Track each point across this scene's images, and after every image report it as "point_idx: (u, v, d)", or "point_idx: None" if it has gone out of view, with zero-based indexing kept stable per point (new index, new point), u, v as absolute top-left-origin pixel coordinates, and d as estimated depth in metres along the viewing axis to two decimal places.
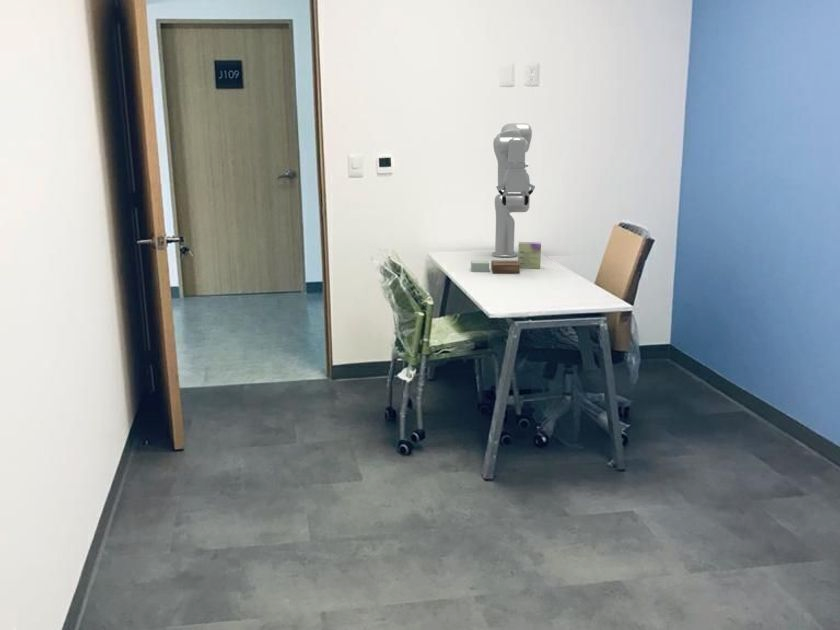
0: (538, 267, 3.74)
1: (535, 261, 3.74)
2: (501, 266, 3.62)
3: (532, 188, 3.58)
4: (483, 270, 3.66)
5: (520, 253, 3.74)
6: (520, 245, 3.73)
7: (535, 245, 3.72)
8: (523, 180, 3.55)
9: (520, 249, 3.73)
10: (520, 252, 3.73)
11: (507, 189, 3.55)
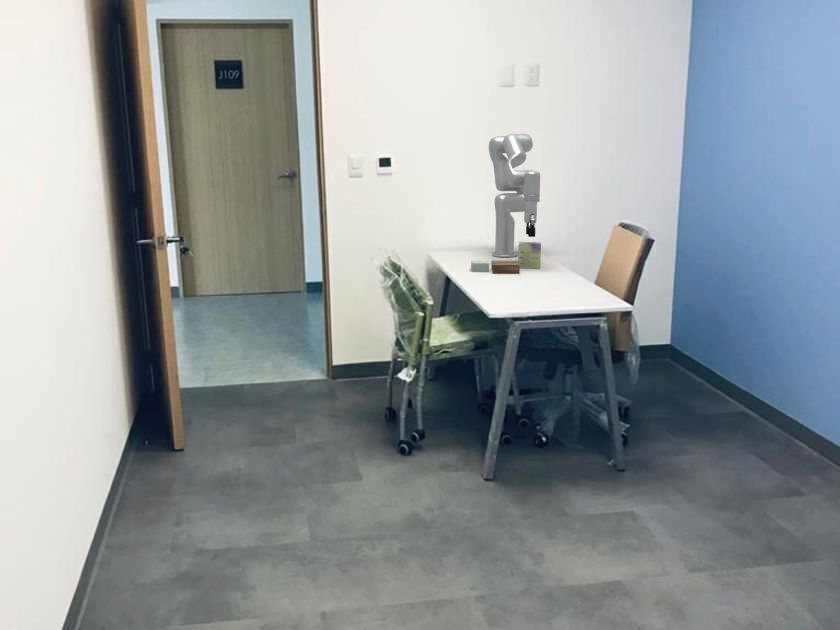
0: (538, 267, 3.74)
1: (535, 261, 3.74)
2: (501, 266, 3.62)
3: None
4: (483, 270, 3.66)
5: (520, 253, 3.74)
6: (520, 245, 3.73)
7: (535, 245, 3.72)
8: None
9: (520, 249, 3.73)
10: (520, 252, 3.73)
11: None
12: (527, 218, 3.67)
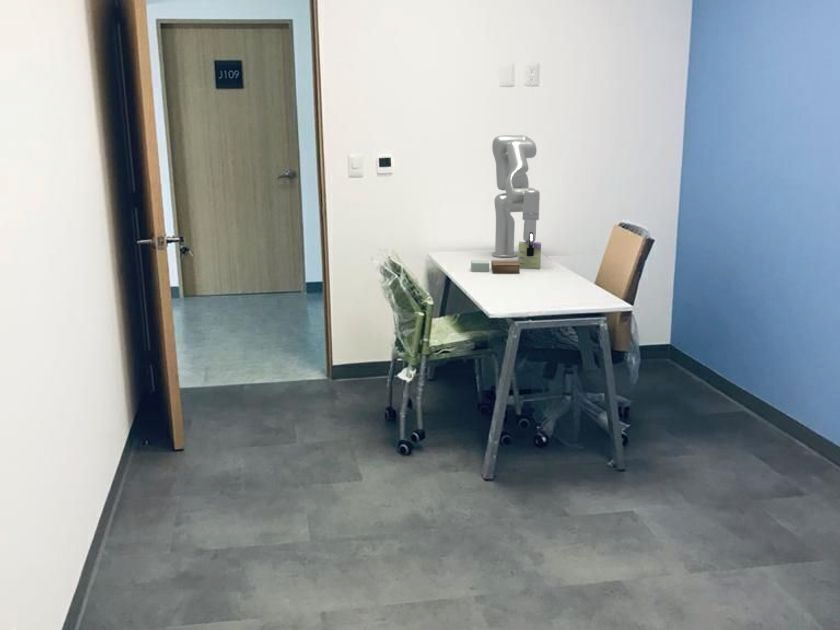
0: (538, 267, 3.74)
1: (535, 261, 3.74)
2: (501, 266, 3.62)
3: None
4: (483, 270, 3.66)
5: (520, 253, 3.73)
6: (520, 245, 3.73)
7: (535, 245, 3.72)
8: None
9: (520, 249, 3.73)
10: (520, 252, 3.73)
11: None
12: (526, 236, 3.69)
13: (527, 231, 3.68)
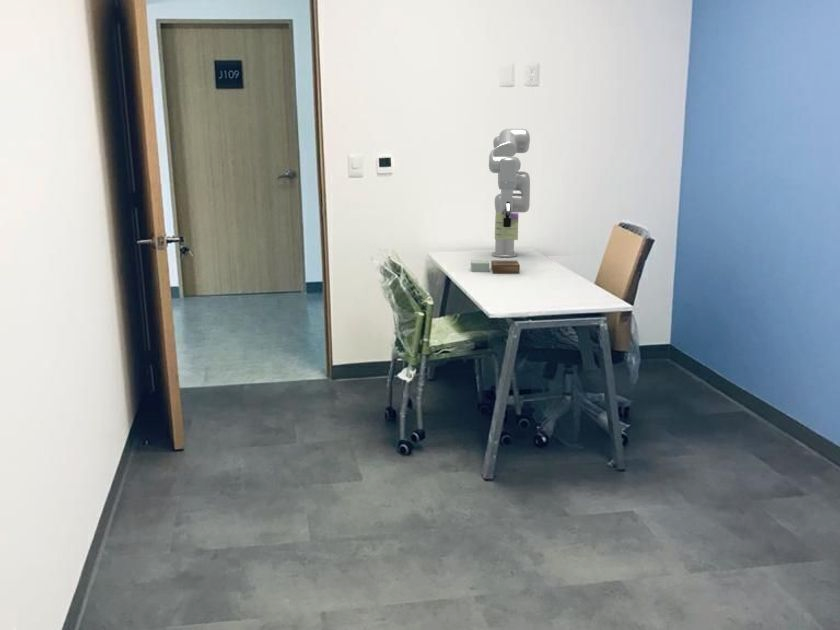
0: (515, 238, 3.61)
1: (513, 232, 3.61)
2: (501, 266, 3.62)
3: None
4: (483, 270, 3.66)
5: (497, 224, 3.61)
6: (497, 215, 3.60)
7: (512, 215, 3.59)
8: None
9: (497, 219, 3.60)
10: (497, 223, 3.60)
11: (512, 209, 3.57)
12: (503, 206, 3.56)
13: (503, 200, 3.56)
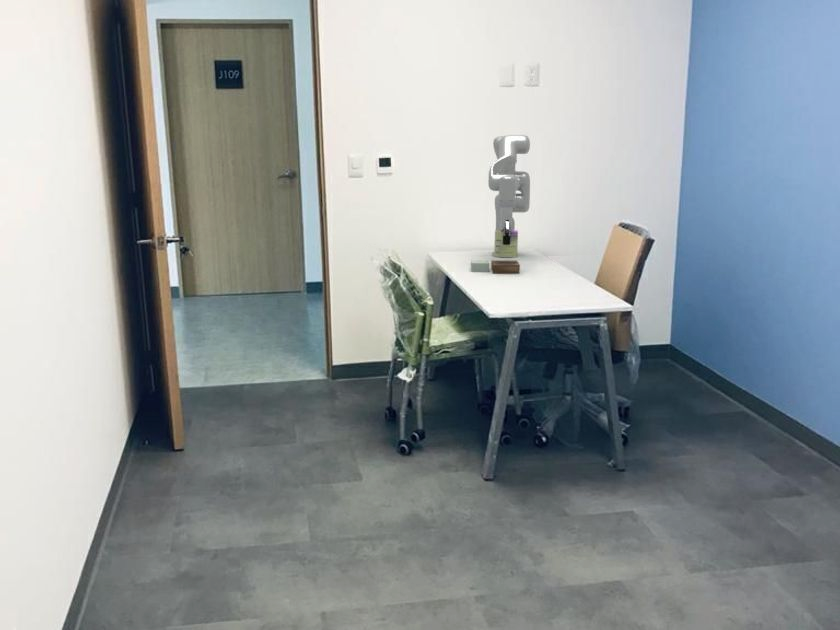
0: (515, 256, 3.63)
1: (512, 249, 3.62)
2: (501, 266, 3.62)
3: None
4: (483, 270, 3.66)
5: (496, 242, 3.62)
6: (496, 233, 3.61)
7: (512, 233, 3.61)
8: None
9: (496, 237, 3.62)
10: (496, 240, 3.62)
11: (511, 227, 3.59)
12: (502, 224, 3.58)
13: (503, 219, 3.57)
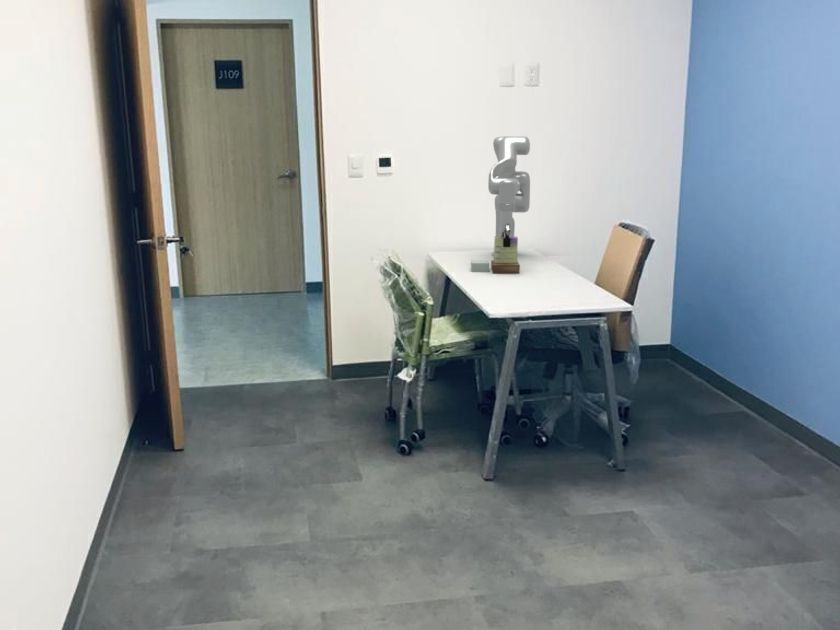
0: (515, 262, 3.65)
1: (512, 255, 3.64)
2: (501, 266, 3.62)
3: None
4: (483, 270, 3.66)
5: (496, 248, 3.64)
6: (496, 239, 3.63)
7: (511, 239, 3.62)
8: None
9: (496, 243, 3.63)
10: (496, 246, 3.63)
11: (511, 230, 3.59)
12: (502, 228, 3.58)
13: (503, 222, 3.58)
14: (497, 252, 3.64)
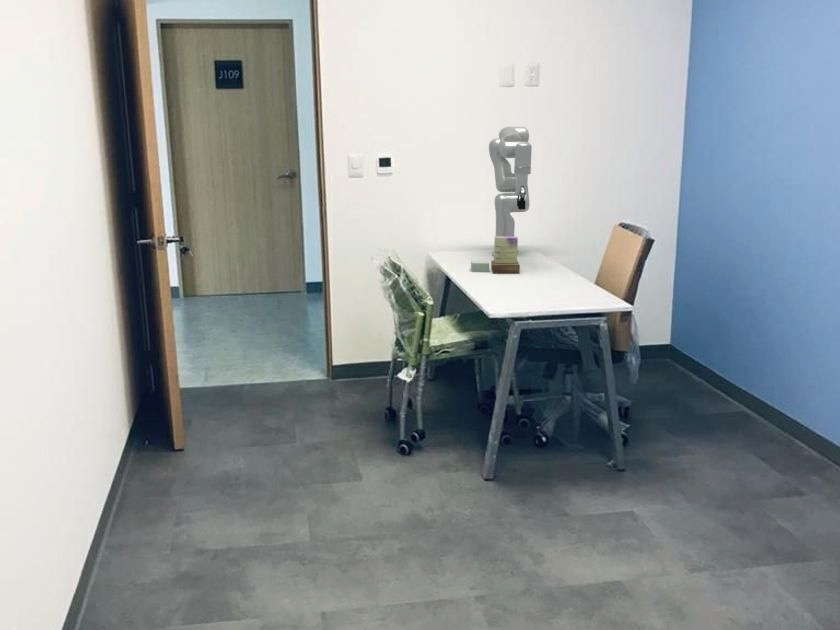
0: (515, 262, 3.65)
1: (512, 255, 3.64)
2: (501, 266, 3.62)
3: None
4: (483, 270, 3.66)
5: (496, 248, 3.64)
6: (496, 239, 3.63)
7: (511, 239, 3.62)
8: None
9: (496, 243, 3.63)
10: (496, 246, 3.63)
11: (526, 193, 3.66)
12: (517, 190, 3.65)
13: (518, 185, 3.64)
14: (497, 252, 3.64)
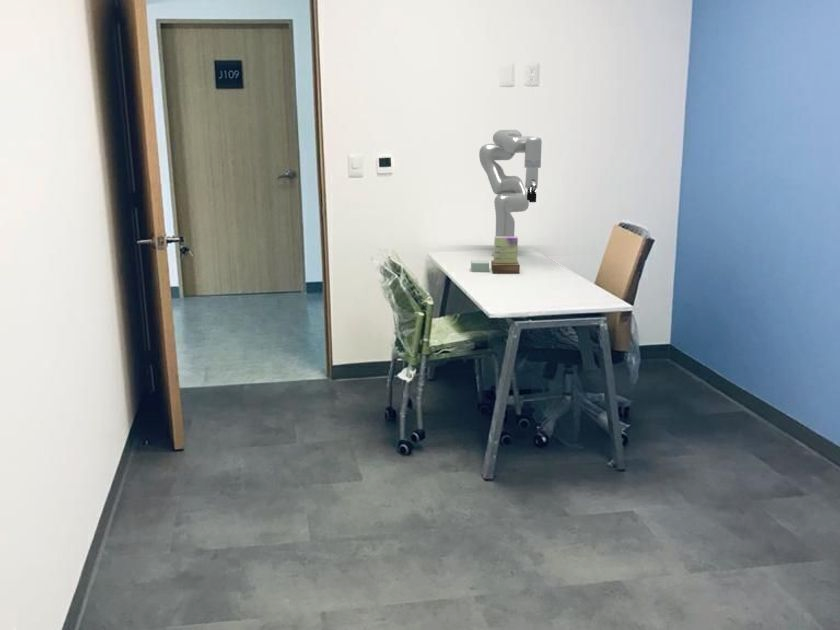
0: (515, 262, 3.65)
1: (512, 255, 3.64)
2: (501, 266, 3.62)
3: None
4: (483, 270, 3.66)
5: (496, 248, 3.64)
6: (496, 239, 3.63)
7: (511, 239, 3.62)
8: None
9: (496, 243, 3.63)
10: (496, 246, 3.63)
11: None
12: (528, 184, 3.71)
13: (529, 178, 3.71)
14: (497, 252, 3.64)
